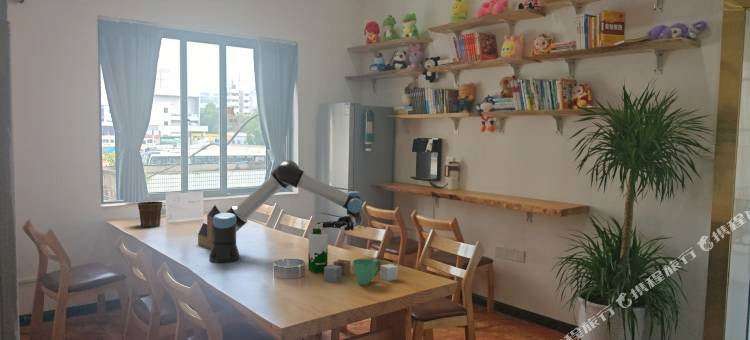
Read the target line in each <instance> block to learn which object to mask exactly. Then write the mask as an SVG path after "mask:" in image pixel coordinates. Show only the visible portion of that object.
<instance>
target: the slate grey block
mask: <svg viewBox="0 0 750 340" xmlns="http://www.w3.org/2000/svg"><path fill="white" fill-rule="evenodd" d="M342 277H343V276H342V266H337V265H333V264H329V265H328V264H327V266H326V267H324V272H323V281H326V282H333V283H336V282H338V281H341V280H342V279H343V278H342Z"/></svg>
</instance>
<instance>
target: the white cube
mask: <svg viewBox="0 0 750 340" xmlns="http://www.w3.org/2000/svg"><path fill="white" fill-rule="evenodd" d="M379 279H381V280H385V281H387V282H391V281H396V280H397V281H398V280H399V266H397V265H396V264H395V265H394V264H392V263H387V264H380V267H379Z"/></svg>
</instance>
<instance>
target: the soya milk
mask: <svg viewBox="0 0 750 340" xmlns="http://www.w3.org/2000/svg"><path fill="white" fill-rule="evenodd" d="M328 247H329V234H328V233H325V232H323V231H322V230H321V229H318V228H316V227H315V228H312V232H310V233H308V257H307V258H308V270H309V271H310V272H312V273H313V274H316V273H317V274H319V273H320V274H321V273H324V267H326V266H328V261H329V259H328V257H329V256H328V255H329V251H328Z"/></svg>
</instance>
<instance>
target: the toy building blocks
mask: <svg viewBox="0 0 750 340" xmlns="http://www.w3.org/2000/svg"><path fill="white" fill-rule="evenodd" d="M220 213H221V211H220V210H219V209H218V207H217V206H216V204H214V206H212V208H211V209H210V211H209V212H208V213H207V215H206V216H207V217H206V221H207V222H206V223H204V222H203V223H202V225H201V227H200V229H199V232H198V234H197V238H198V239H197V245H198V246H200V247H202V248H204V249H208V250H210V251H211V249H212V246H213V217H214V216H215V215H216V214H220Z"/></svg>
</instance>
